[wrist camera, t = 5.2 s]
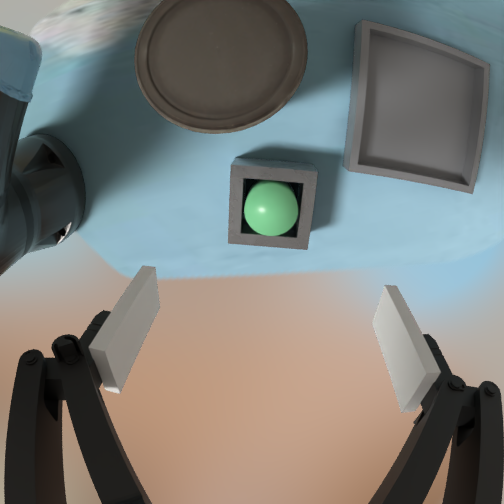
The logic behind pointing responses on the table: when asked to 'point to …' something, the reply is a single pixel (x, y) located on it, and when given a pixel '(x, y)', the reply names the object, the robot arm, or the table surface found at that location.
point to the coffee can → (220, 61)
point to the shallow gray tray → (415, 109)
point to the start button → (271, 207)
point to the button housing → (279, 172)
